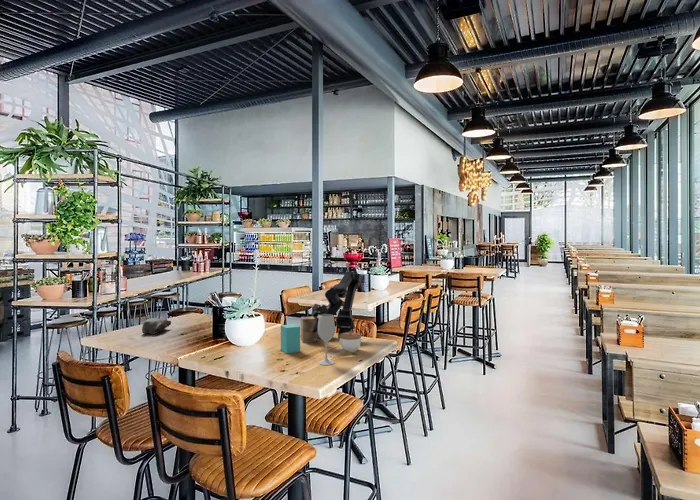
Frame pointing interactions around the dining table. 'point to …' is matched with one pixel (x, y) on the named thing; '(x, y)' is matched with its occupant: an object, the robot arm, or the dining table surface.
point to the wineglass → (326, 333)
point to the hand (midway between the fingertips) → (312, 332)
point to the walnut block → (308, 329)
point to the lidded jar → (350, 341)
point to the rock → (155, 325)
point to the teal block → (290, 338)
